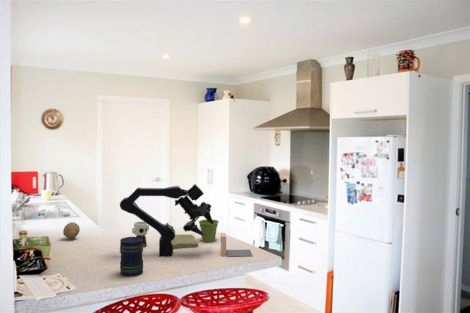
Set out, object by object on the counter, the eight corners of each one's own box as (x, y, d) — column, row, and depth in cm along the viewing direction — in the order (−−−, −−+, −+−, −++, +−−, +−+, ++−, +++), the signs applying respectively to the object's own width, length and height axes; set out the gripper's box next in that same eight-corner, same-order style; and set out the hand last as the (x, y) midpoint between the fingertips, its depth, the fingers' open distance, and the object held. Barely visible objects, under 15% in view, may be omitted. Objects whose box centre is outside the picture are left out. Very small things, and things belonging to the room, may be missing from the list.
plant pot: (194, 240, 231) (194, 221, 231) (210, 237, 239) (210, 218, 238) (206, 244, 222) (206, 224, 222) (222, 241, 230) (223, 221, 230)
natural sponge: (79, 240, 228) (79, 223, 228) (62, 242, 225) (62, 224, 224) (79, 236, 237) (79, 220, 236) (63, 238, 233) (63, 221, 233)
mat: (227, 256, 200) (227, 256, 200) (225, 250, 210) (225, 249, 210) (252, 256, 201) (252, 255, 201) (250, 250, 212) (250, 249, 212)
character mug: (136, 249, 211) (136, 225, 211) (128, 247, 216) (128, 223, 215) (152, 245, 219) (152, 222, 219) (145, 243, 224) (145, 220, 223)
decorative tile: (192, 239, 236) (193, 233, 236) (198, 248, 216) (198, 242, 216) (161, 241, 231) (161, 234, 231) (164, 250, 211) (164, 244, 211)
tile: (221, 256, 201) (221, 236, 200) (220, 251, 209) (220, 232, 208) (226, 256, 201) (226, 236, 200) (225, 251, 209) (225, 232, 208)
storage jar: (120, 277, 169) (119, 243, 168) (120, 270, 178) (119, 237, 178) (144, 275, 172) (144, 241, 171) (142, 268, 181) (142, 236, 180)
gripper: (185, 213, 191) (206, 238, 193) (207, 191, 203) (226, 214, 205) (174, 219, 199) (194, 242, 200) (195, 197, 211) (214, 219, 213)
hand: (207, 229), depth 205 cm, fingers open, 9 cm apart
